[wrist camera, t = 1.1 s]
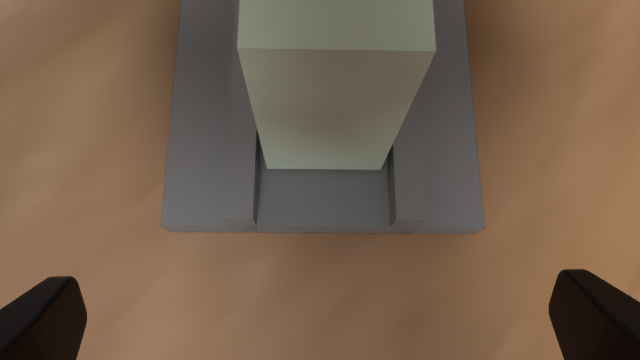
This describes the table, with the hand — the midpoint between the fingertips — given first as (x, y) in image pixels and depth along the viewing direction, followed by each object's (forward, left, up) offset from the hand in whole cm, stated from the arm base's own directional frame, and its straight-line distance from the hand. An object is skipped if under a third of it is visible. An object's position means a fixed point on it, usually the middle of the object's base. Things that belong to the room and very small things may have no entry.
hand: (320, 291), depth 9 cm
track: (+9, -8, -14) cm, 18 cm away
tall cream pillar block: (+6, -6, -12) cm, 15 cm away
